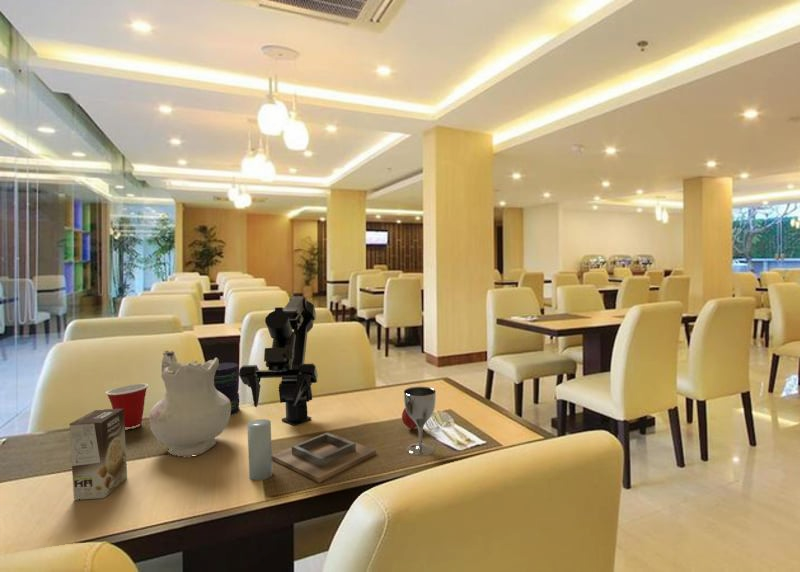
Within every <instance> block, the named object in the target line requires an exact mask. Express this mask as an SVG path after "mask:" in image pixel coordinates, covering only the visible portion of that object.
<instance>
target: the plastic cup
mask: <svg viewBox="0 0 800 572" xmlns="http://www.w3.org/2000/svg"><path fill="white" fill-rule="evenodd" d="M148 387H149V384H148V383H136V384H129V385H124V386H123V385H122V386H119V387H115V388H112V389H109V390H106V391H105V395H106V396H107V397H108V399H109V402H110V404H111V409H124V427H132V426H136V425H138V424H140V423H141V422H143V421H142V420H143V414H144V408H145V400H146V393H147V388H148ZM141 424H142V423H141Z"/></svg>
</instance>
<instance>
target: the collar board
mask: <svg viewBox="0 0 800 572" xmlns="http://www.w3.org/2000/svg"><path fill="white" fill-rule="evenodd" d="M375 455H377V449H374V448H372V447H368V446H365V445H363V444H360V443H358V442H356V441H352V440H350V439H347V438H344V437H341V436H339V435H335V434H333V433H330V432H323V434H319V435H317V436H314V437H312V438H309V439H307V440H305V441H302V442H300V443H296V444H294V445H292V446H291V447H288V448H286V449H284V450H281V451H279V452H277V453H274V454H272V461H274V462H276V463H278V464H280V465H282V466H284V467H286V468H288V469H291V470H292V471H295V472H296V473H298V474H300V475H302V476H304V477H306V478H309V479H310V480H313V481H314V482H317V483H321V482H323V481H325V480H327V479H329V478H331V477H333V476H335V475H337V474H339V473H340V472H343V471H345V470H347V469H349V468H351V467H353V466H356V465H357V464H359V463H361V462H363V461H366V460H367V459H369V458H371V457H373V456H375Z"/></svg>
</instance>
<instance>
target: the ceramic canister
mask: <svg viewBox="0 0 800 572" xmlns="http://www.w3.org/2000/svg"><path fill="white" fill-rule="evenodd" d="M246 429H247V447H248V448H247V449H248V452H247V453H248V472H249V473H248V474H249V480H252V481H254V482H255V481H257V482H258V481H259V482H260V481H265V480H267V479H270V478H271V477H272V476H273V474H274V472H273V460H272V455H273V453H272V452H273V451H272V449H273V447H272V424H271V420H270V419H265V418H264V419H262V418H261V419H254V420H252V421H249V422H248V423H247V428H246Z"/></svg>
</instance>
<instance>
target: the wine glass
mask: <svg viewBox="0 0 800 572" xmlns="http://www.w3.org/2000/svg"><path fill="white" fill-rule="evenodd" d="M436 395H437V394H436V390H435V389H434V388H432V387H429V386H428V387H427V386H410V387H407V388H405V389H404V390H403V401H404V409H405V408H406V411H407V414H408V415H409V417H410V418H411V419H412V420H413V421H414V422H415V424H416V425H417V427H416V428H417V432H418V433H417V434H418V443H412V444H410V445H407V447H406V452H407V453H408V454H410V455H413V456H418V457H419V456H420V457H421V456H423V457H424V456H427V455H431V454H433V453H434V452H435V450H436V449H435V447H434V446H433V445H431V444H429V443H423V431H424V430H423V429H424V426H425V424H426V423H427V422H428V420H430V419H431V417H432V416H433V414H434V411H435V408H436V399H437V398H436Z"/></svg>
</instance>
